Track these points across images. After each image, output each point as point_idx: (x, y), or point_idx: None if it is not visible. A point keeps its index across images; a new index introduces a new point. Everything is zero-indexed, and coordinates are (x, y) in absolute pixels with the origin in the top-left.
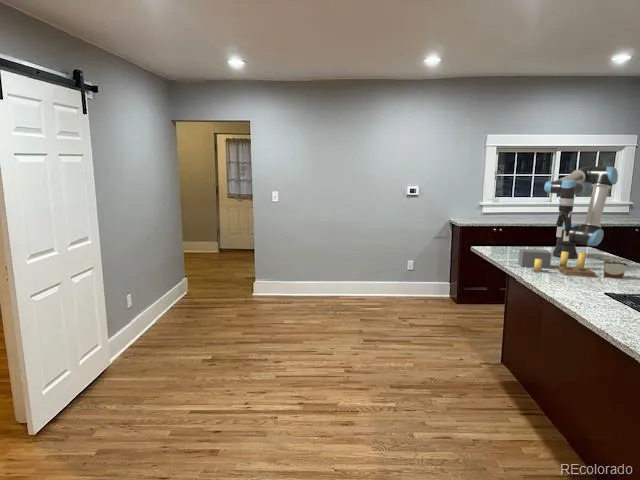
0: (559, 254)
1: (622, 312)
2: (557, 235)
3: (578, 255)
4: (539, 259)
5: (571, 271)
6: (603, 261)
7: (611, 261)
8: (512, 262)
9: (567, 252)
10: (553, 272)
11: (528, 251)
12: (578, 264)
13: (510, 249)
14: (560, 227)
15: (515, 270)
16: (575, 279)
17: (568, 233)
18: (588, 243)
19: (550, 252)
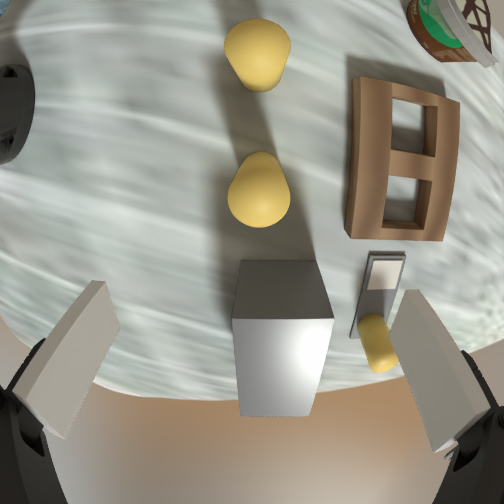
0: (16, 141)
1: None
2: (109, 333)
3: (255, 78)
4: (387, 359)
5: (447, 214)
6: (489, 60)
7: (462, 3)
8: (221, 367)
9: (277, 183)
10: (400, 271)
11: (302, 402)
12: (270, 85)
13: (5, 296)
14: (45, 410)
15: (357, 377)
16: (478, 216)
17: (479, 382)
18: (4, 6)
19: (311, 319)
